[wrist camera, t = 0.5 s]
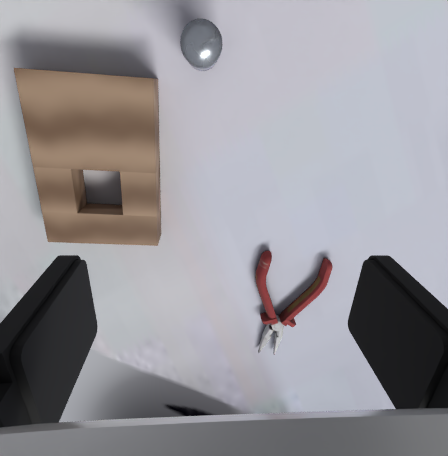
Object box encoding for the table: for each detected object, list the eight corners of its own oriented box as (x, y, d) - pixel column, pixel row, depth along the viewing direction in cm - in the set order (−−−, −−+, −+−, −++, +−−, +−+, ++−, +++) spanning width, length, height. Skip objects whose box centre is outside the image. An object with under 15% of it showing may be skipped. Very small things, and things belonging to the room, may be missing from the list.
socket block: (31, 69, 34) (13, 67, 31) (158, 78, 35) (153, 78, 32) (59, 230, 43) (47, 241, 40) (161, 233, 44) (157, 245, 41)
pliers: (234, 344, 55) (235, 356, 52) (260, 246, 46) (263, 255, 44) (295, 350, 56) (299, 362, 54) (331, 256, 48) (337, 265, 45)
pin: (186, 32, 34) (180, 16, 26) (219, 35, 34) (223, 20, 26) (186, 69, 35) (180, 65, 27) (217, 71, 35) (220, 68, 27)
